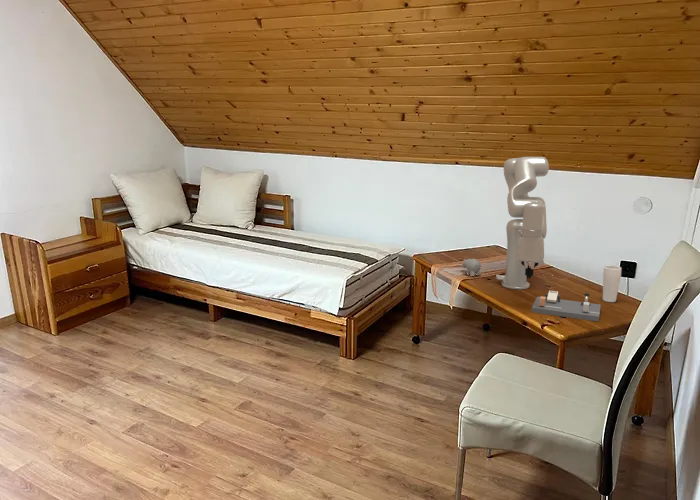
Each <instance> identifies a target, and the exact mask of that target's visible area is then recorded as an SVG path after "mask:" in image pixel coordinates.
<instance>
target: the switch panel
mask: <svg viewBox="0 0 700 500" xmlns="http://www.w3.org/2000/svg"><path fill="white" fill-rule="evenodd" d="M540 297H541V296H538V295H537V296H536V298H535V301H534V302H533V304H532V307H531V313H533V314H534V313H536V314H543V315H549V316H550V315H551V316H556V317H565V318H569V319H570V318H571V319H578V320H585V321H592V322H600V314H601V305H602V304H599V303H593V302H592V303H591V302H589V301H588V302H589V312H584V311H583V305H584V302H585V301H577V300H569V299H568V300H567V299H562V298H561V294H558V296H557V300H556V302H549V301H547V297H548V292H544V297H546V300H545V305H544V306H540V305H539V300H540Z"/></svg>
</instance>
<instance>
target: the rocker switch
mask: <svg viewBox="0 0 700 500" xmlns="http://www.w3.org/2000/svg"><path fill="white" fill-rule="evenodd" d="M558 295H559V291H556V290H548V292H547V301H549V302H556V300H557V299H558Z"/></svg>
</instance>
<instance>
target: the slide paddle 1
mask: <svg viewBox="0 0 700 500" xmlns="http://www.w3.org/2000/svg"><path fill="white" fill-rule="evenodd" d="M539 297H540V300H539V305H540V306H544V305H545V300H546V297H545V296H543V295H540V296H539Z"/></svg>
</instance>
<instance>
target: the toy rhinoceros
mask: <svg viewBox="0 0 700 500" xmlns="http://www.w3.org/2000/svg"><path fill="white" fill-rule="evenodd" d="M461 266H462V268H464V269H466V273H468V274H470V275H475V276H476V274H478V275H479V276H481V275H480V274H482V271H481V268H482V267H481V262H480V261H479V260H478V259H477V258H470V257H469V258H468V259H465V258H464V259H463V262H462V265H461ZM466 273H465V274H466ZM475 273H476V274H475ZM470 275H469V276H470Z"/></svg>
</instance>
